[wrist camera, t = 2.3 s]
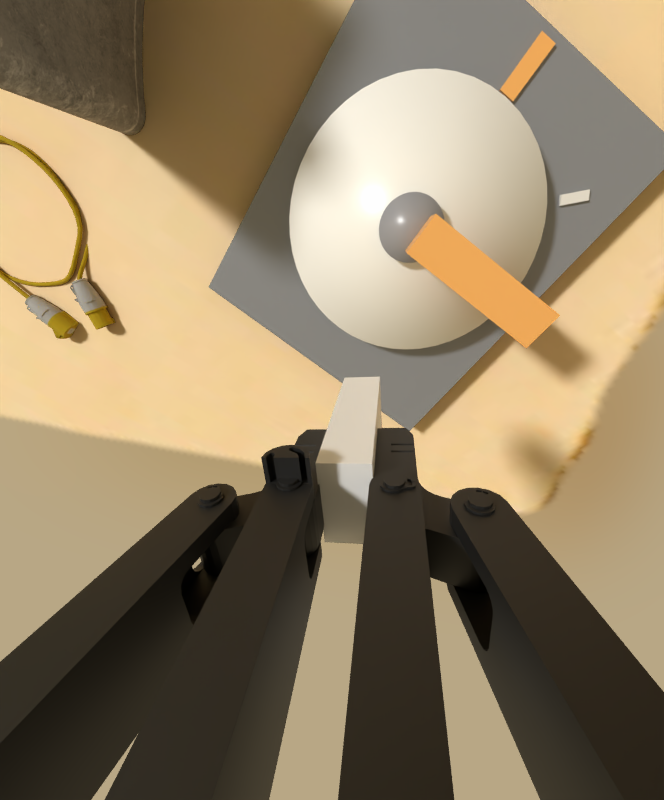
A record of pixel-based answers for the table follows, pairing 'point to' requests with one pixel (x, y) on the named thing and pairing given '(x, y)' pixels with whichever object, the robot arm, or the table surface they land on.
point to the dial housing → (553, 130)
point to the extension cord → (81, 287)
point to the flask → (76, 57)
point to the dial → (422, 213)
